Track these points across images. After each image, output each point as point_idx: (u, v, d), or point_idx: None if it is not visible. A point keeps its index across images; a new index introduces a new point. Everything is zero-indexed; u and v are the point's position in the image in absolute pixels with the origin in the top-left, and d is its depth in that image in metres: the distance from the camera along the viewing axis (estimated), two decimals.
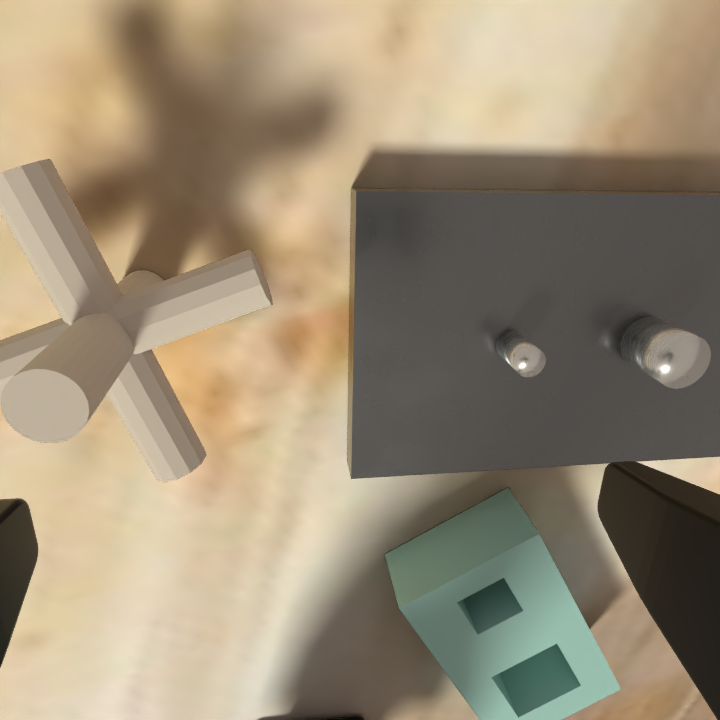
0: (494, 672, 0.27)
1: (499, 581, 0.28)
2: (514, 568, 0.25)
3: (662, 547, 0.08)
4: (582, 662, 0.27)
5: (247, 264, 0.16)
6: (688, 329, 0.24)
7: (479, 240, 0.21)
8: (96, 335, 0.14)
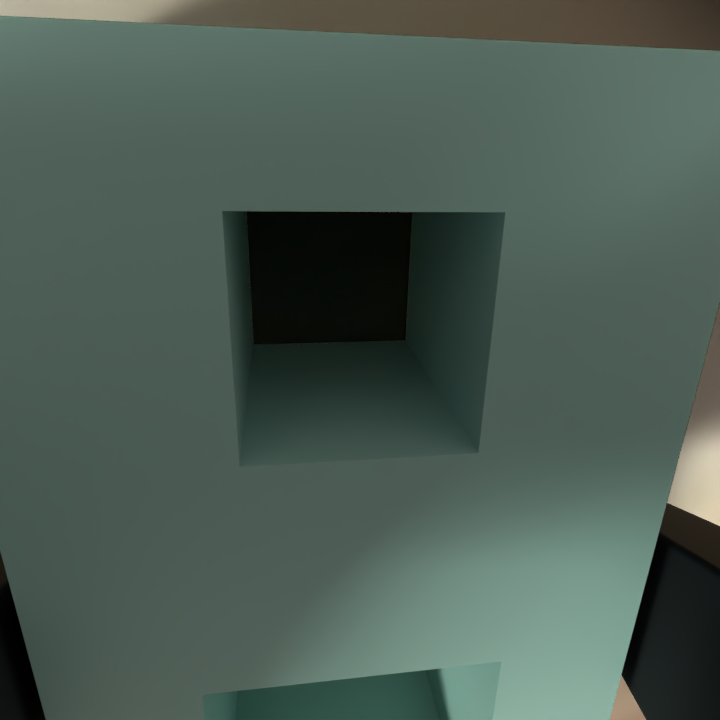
0: (224, 679, 0.06)
1: (400, 374, 0.08)
2: (575, 191, 0.05)
3: None
4: None
5: None
6: None
7: None
8: None
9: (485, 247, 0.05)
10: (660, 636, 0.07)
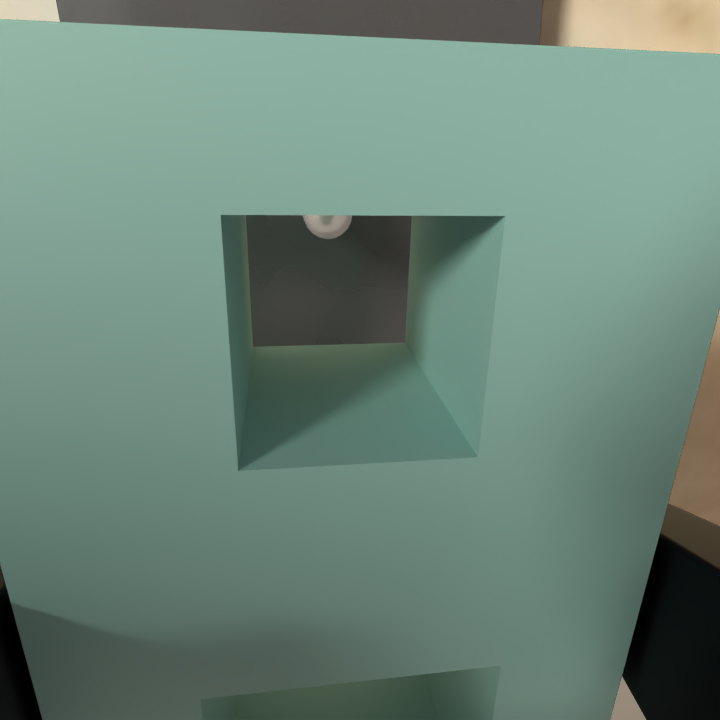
0: (223, 683, 0.06)
1: (400, 377, 0.08)
2: (575, 194, 0.05)
3: None
4: None
5: None
6: None
7: None
8: None
9: (485, 250, 0.05)
10: (660, 636, 0.07)
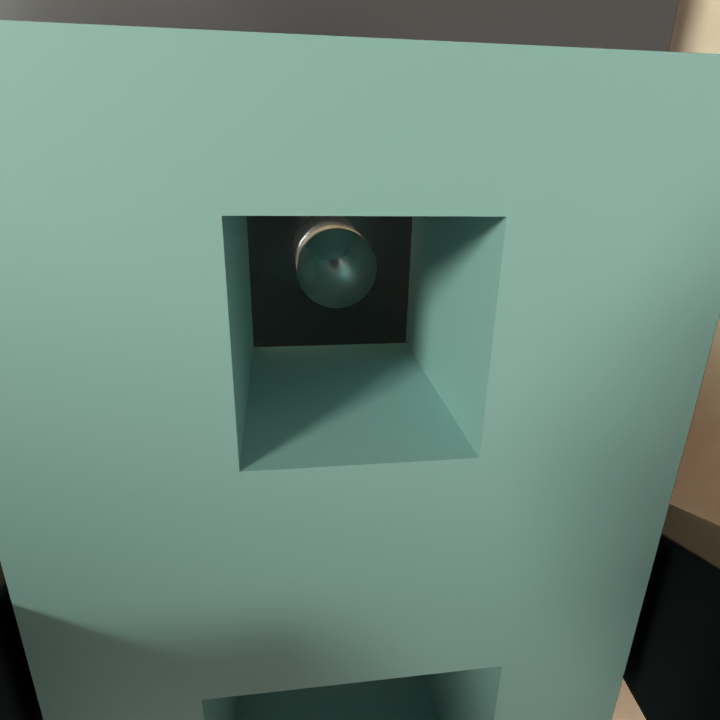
0: (224, 684, 0.06)
1: (401, 378, 0.08)
2: (576, 195, 0.05)
3: None
4: None
5: None
6: None
7: None
8: None
9: (486, 251, 0.05)
10: (660, 636, 0.07)
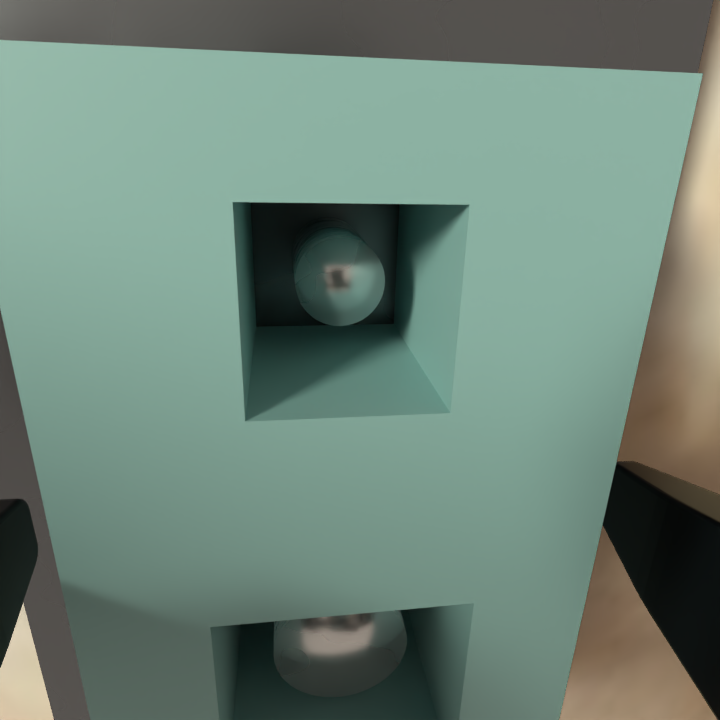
0: (230, 613, 0.07)
1: (387, 352, 0.08)
2: (528, 187, 0.06)
3: (662, 547, 0.08)
4: (499, 700, 0.09)
5: None
6: None
7: None
8: None
9: (455, 235, 0.06)
10: None
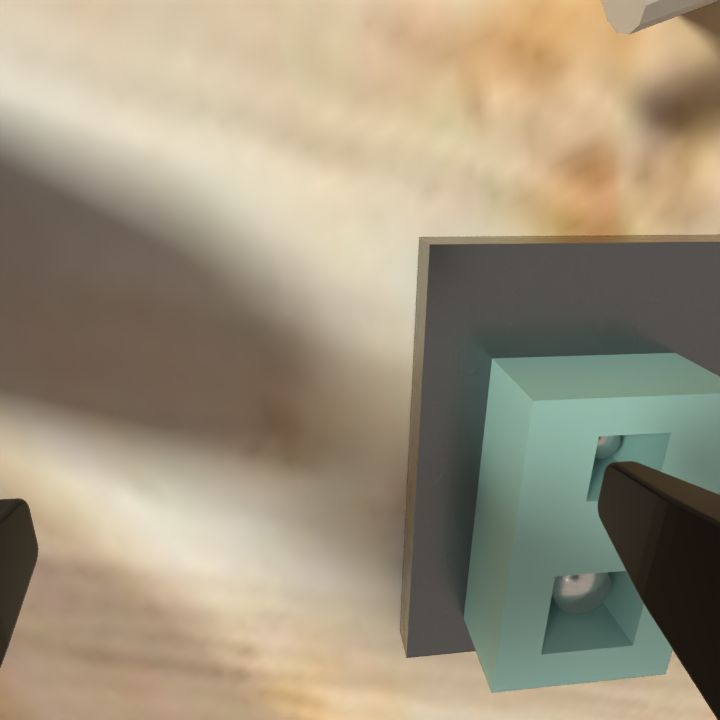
0: (563, 571, 0.19)
1: (609, 463, 0.20)
2: (690, 426, 0.17)
3: (662, 547, 0.08)
4: None
5: None
6: None
7: None
8: None
9: (660, 437, 0.18)
10: None
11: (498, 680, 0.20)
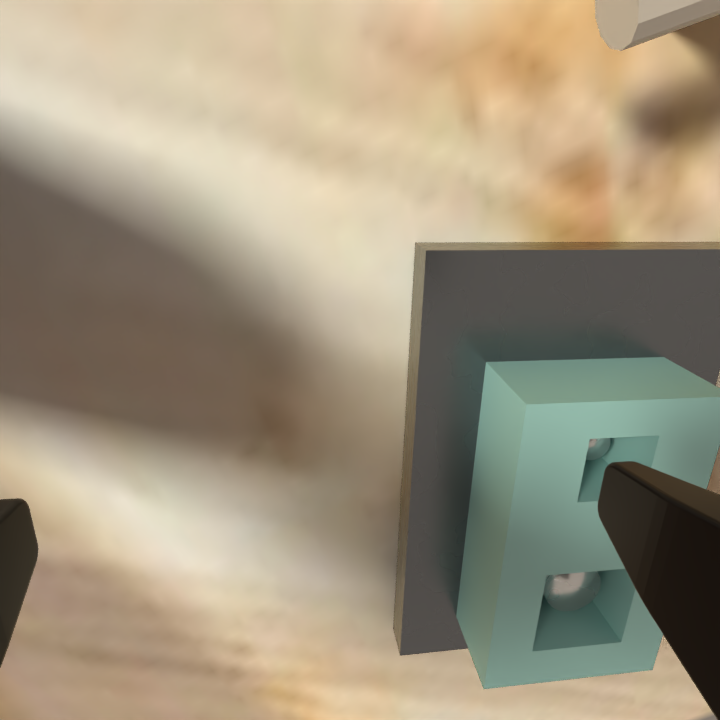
0: (554, 570, 0.19)
1: (599, 465, 0.21)
2: (678, 429, 0.18)
3: (662, 547, 0.08)
4: (645, 609, 0.21)
5: None
6: None
7: None
8: None
9: (649, 439, 0.18)
10: None
11: (490, 677, 0.21)
